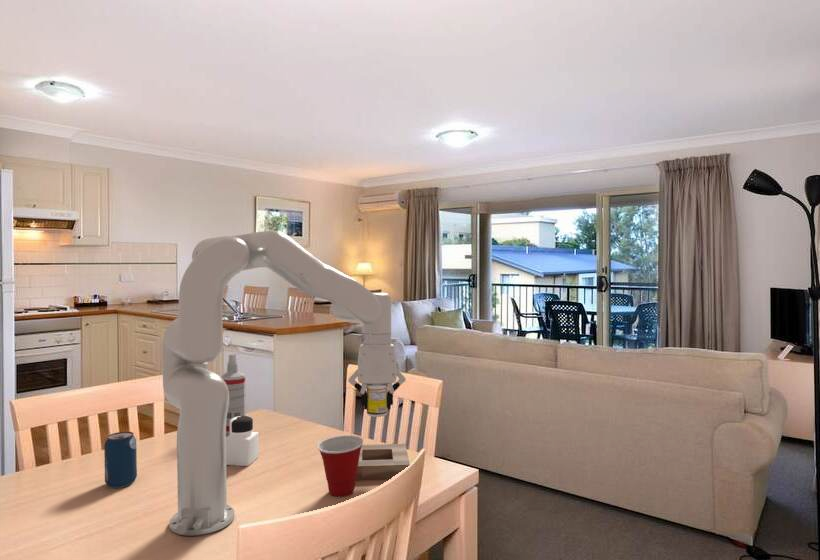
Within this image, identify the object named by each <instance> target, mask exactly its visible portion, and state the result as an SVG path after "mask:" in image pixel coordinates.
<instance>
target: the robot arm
mask: <svg viewBox="0 0 820 560" xmlns="http://www.w3.org/2000/svg"><path fill="white" fill-rule="evenodd" d="M191 259H192V261H191V262H190V264H188V267H187V268H186V269H185V271H184V273H183V276H182V278H181V281H180V285H179V291H178V309H177V310H178V312H177V314H178V317H177V318H175V319H174V320H172V321H171V322H170V323H169V324H168V325H167V327H166V328H165V331H164V334H163V337H162V344H161V348H162V349H161V352H162V354H161V357H162V358H161V359H162V388H163V393H164V396H165V398H166V400H167V401H168V402H169V403H170V404H171V405H172V406H174V407H175V408H177V409H179V419H178V423H177V432H176V453H177V454H176V456H177V457H176V458H177V460H176V461H177V464H176V466H177V467H176V468H177V475H176V476H177V512H176V513H174V514H173V515H172V517H171V518H170V519H169V529H170V530H171V531H172V532H173V533H175V534H177V535H178V536H179V535H180V536H181V535H182V536H187V537H189V536H190V537H191V536H193V537H194V536H201V535H208V534H211V533H214V532H217V531H219V530H222V529H224V528H225V527H227V526H229V525H230V524H231V523H232V522H233V521H234V519H235V509H234V508H233V507H232V506H230V505H228V504H227V502H228V501H227V499H228V498H227V491H228V490H227V465H226V437H227V434H226V420H227V412H228V406H229V390H228V387H227V385H226V383H225V381H224V380H223V379H222V378H221V377H220V376H221V375H219V374H217V373H215V371H214V372H213V371H211V370H209V369H208V364H210V363H212V362H214V361H215V360H216V359H218V357H219V356H220V355H221V353H222V350H223V346H224V345H223V344H224V331H223V329H224V328H223V323H224V322H223V304H224V303H223V302H224V301H223V300H224V294H225V291H226V288H227V285H228V284H229V282H230V281H231V280H232V279H233V278H234V277H235V276H236V275H238V274H240V273H241V272H242V271H249V270H252V269H257V268H267V269H268V270H270V271H272V272H273V273H275V274H276V275H278V276H279V277H280V278H282V279H283V280H284V281H286V282H287V283H289V284H290V285H292V286H293V287H295V288H296V289H298V291H300V292H302V293H303V294H307V295H308V296H310V297H314V298H317V299H321V300H325V301H327V302H329V303H331V306H330V307H331V312H332V314H333V316H334V317H335V318H336V319H337V320H339V321H341V322H344V323H345V322H346V323H355V324H362V334H360V335H357V337H356V340H357V341H360V342H362V344H360V345H359V348H358V356H357V369H356V370H355V371H354V372H353V373H352V374H351V375H350V376H349V377H348V383H349V384H350V385H352V386H353V387H354V388H355V389H356V390H357V391H358V392H359V393H360V394H361V400H360V401H361V403H360V404H361V407H362V406H363V409H364V410H367V385H368V384H387V386H388V409H389V410H391V406H394V393H395V392H396V391H397V389H399V387H400V386H401V385H403V384H404V383H405V382H406V377H405V376H404V375H403V374H402V372H401V371H400V370H398V368H397V354H396V353H397V352H396V348H395V345H394V344H393V343H392V297H391V295H390V294H389V293H387V292H372V291H370V290H369V288H366V287H365V286H364V285H363V284H362V283H360V282H359V281H357V280H355V279H354V278H353V277H350V276H348V275H346V274H344V273H343V272H341V271H339V270H337V269H336V268H334V267H331V266H330V265H327V264H326V263H324V262H323V261H321V260H319V259H318V258H317V257H316V256H314V255H313V254H312V253H310V252H309V251H308V250H306V249H305V248H304V247H303V246H301V245H300V244H299V243H298V242H297V241H295V240H294V239H292V238H291V237H290V236H288V235H287V234H285V233H284V232H282V231H279V230H273V229H271V230H265V231H263V230H262V231H257V232H249V233H244V234H238V235H231V236H229V235H224V236H218V237H217V236H216V237H209V238H204V239H203V240H201V241H199V242H198V243H197V244H196V246H194V248H193V250H192V254H191ZM397 378H398V379H397ZM356 379H357V380H358V381H357V380H356Z"/></svg>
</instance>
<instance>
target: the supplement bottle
mask: <svg viewBox="0 0 820 560" xmlns="http://www.w3.org/2000/svg"><path fill="white" fill-rule="evenodd" d="M366 392H367V409H366V414H367V415H368V417H374V418H380V417H385V416H387V414H388V411H389V410H388V386H387V384H368V385H367V388H366Z"/></svg>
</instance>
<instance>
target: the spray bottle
mask: <svg viewBox="0 0 820 560" xmlns="http://www.w3.org/2000/svg"><path fill="white" fill-rule="evenodd" d="M226 368H227V369H226V372H225V373H223V374H221V375H219V376H220V377H221V378H222V379H223V380H224V381H225V383H226V385H227V387H228V390H229V406H228V412H227V420H226V435H230V420H231V419H232V418H234V417H238V416H247V415H246V410H247V409H246V373H243V372H241V371H239V365H238V361H237V353H231V354H228V361H227V367H226Z"/></svg>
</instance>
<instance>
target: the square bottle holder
mask: <svg viewBox="0 0 820 560" xmlns="http://www.w3.org/2000/svg"><path fill="white" fill-rule="evenodd" d="M408 455H409V454H408V450H407V446H406V443H383V444H382V443H381V444H380V443H379V444H362V446H361V451H360V456H359V463H358V470H357V477H356V481H370V480H371V481H373V480H375V481H376V480H378V481H379V480H391V479H390V478H392V477H393V476H395V475H396V474H398V473H399V472H401V471H402V470H404V469H405V468H406V467H408V466H409V465H410V466H411V463H410V459H409V456H408Z"/></svg>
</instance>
